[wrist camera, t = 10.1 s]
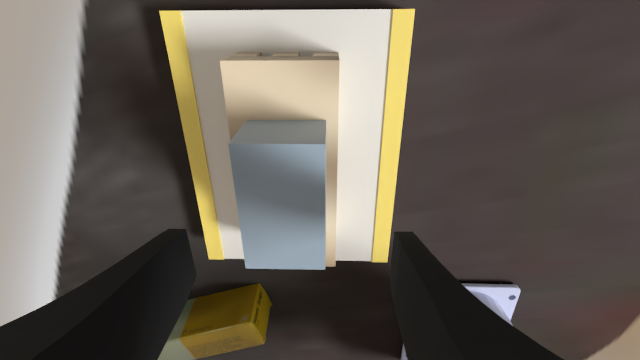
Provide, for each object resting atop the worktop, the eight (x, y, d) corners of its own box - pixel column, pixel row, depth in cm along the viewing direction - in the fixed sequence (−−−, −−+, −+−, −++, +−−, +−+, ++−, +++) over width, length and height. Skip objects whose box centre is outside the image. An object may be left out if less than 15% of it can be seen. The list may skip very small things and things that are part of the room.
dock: (382, 242, 24) (387, 262, 22) (218, 240, 24) (209, 259, 23) (405, 9, 17) (415, 8, 15) (177, 10, 18) (159, 10, 16)
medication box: (149, 332, 30) (125, 376, 26) (132, 311, 28) (104, 355, 25) (274, 302, 28) (266, 346, 24) (261, 279, 26) (250, 322, 23)
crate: (326, 230, 18) (325, 269, 15) (258, 229, 18) (245, 268, 15) (326, 120, 15) (325, 144, 12) (246, 119, 15) (228, 143, 12)
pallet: (335, 234, 21) (335, 266, 19) (257, 233, 22) (247, 265, 19) (338, 52, 16) (339, 60, 14) (237, 52, 17) (219, 60, 14)
